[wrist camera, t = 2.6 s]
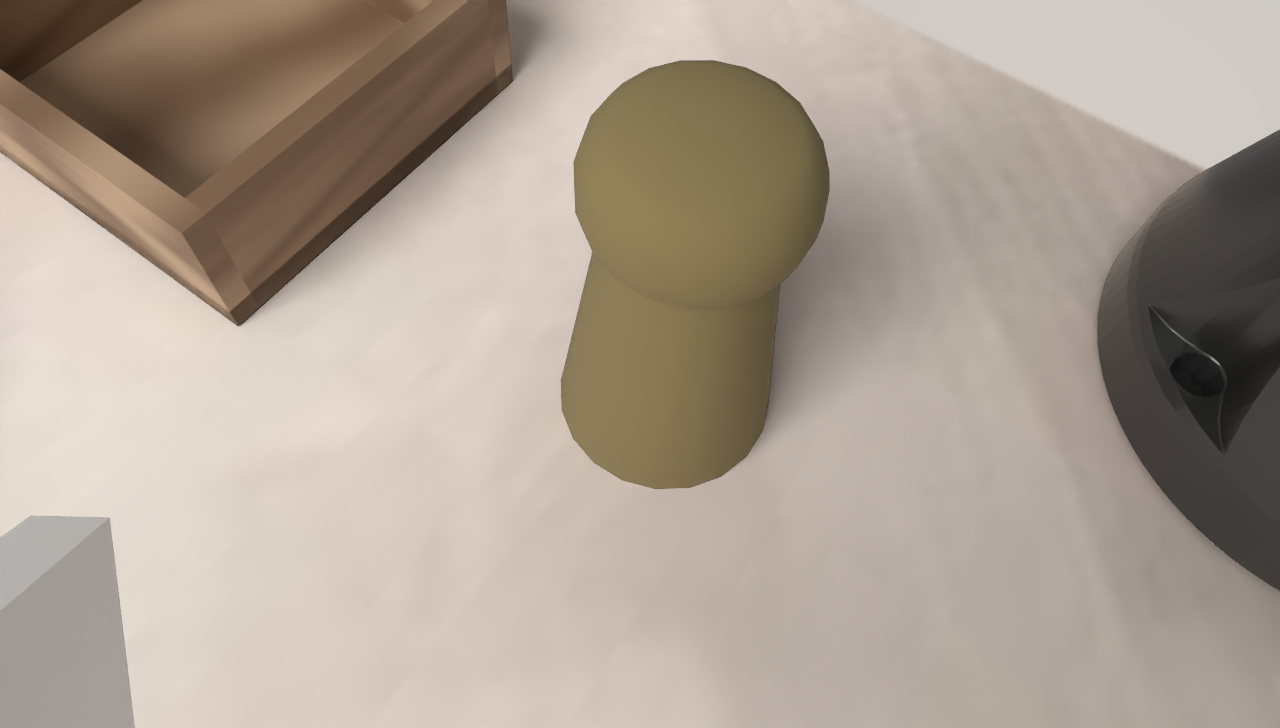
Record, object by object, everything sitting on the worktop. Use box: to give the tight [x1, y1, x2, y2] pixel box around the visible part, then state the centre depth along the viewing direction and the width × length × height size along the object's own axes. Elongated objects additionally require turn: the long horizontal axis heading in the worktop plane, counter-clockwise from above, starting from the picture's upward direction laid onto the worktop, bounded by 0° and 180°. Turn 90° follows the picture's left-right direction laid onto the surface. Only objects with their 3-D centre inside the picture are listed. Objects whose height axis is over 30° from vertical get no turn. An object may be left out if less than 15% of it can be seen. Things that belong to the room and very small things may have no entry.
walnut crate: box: [0, 0, 512, 326], centre depth 30 cm, size 13×13×4 cm
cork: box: [561, 61, 829, 489], centre depth 23 cm, size 6×6×11 cm
